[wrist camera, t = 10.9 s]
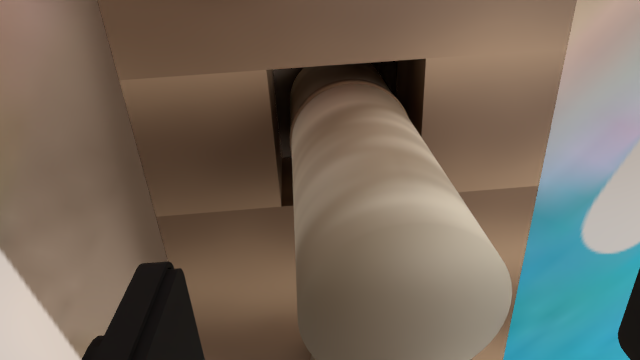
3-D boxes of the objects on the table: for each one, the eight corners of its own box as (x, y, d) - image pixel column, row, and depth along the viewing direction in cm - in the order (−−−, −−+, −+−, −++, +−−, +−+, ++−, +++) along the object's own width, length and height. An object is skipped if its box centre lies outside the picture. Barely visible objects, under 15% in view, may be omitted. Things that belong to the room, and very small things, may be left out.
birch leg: (387, 47, 18) (531, 211, 8) (386, 142, 20) (498, 376, 10) (284, 54, 18) (284, 232, 7) (292, 149, 20) (302, 394, 9)
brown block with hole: (464, 351, 27) (580, 621, 16) (226, 373, 26) (187, 666, 16) (526, -77, 16) (966, -87, 6) (128, -53, 16) (-180, -15, 5)
